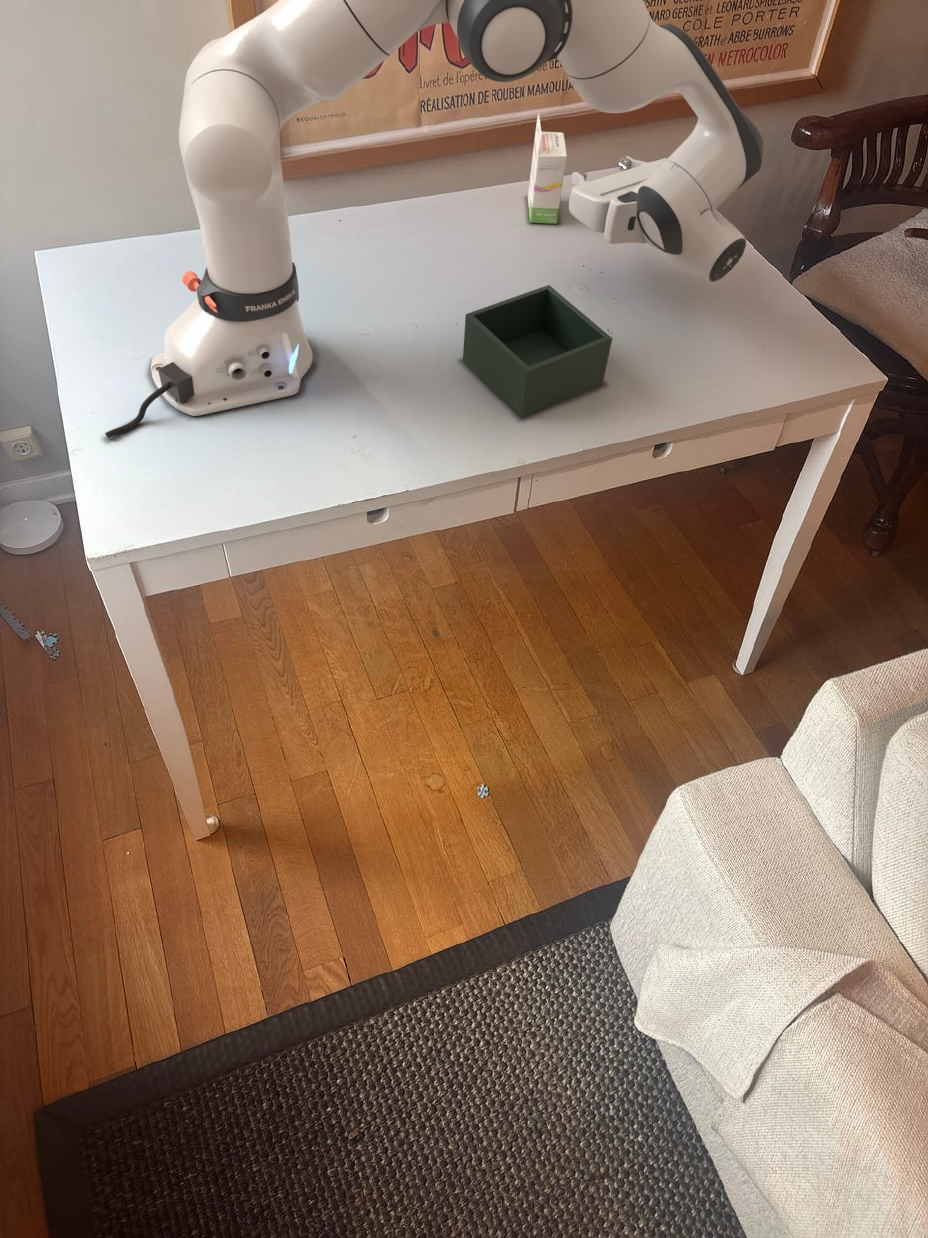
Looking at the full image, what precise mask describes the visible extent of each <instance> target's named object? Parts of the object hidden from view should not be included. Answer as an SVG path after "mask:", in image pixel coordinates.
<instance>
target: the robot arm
mask: <svg viewBox="0 0 928 1238" xmlns="http://www.w3.org/2000/svg"><path fill="white" fill-rule="evenodd" d="M439 24H449V25H450V27H451V29H452V31H453V34H454V35H455V37H456V39H457V42H458V45H459V47H460V50H461V52H462V54H463V56H464V57H465V59H466V60H467V61H468V63H469V64H470V65H471V66H472V67H473V68H474V69H475V70H476V71H477V73H479V74H481V76H483V77H485V78H486V79H489V80H490V81H494V82H498V83H509V82H515V81H518V80H520V79H524V78H525V77H527V76H529V75H532V74H533V73H534V72H536V71H538V70H539V69H541V67H543V66H544V65H545V64H546V63H548V62H551V61H553V60H555V59H556V58H557V60H558V62H559V64H560V66H561V68H562V69H563V71H564V73H565V75H566V77H567V79H568V81H569V82H570V85H571V86H572V88H573V89H574V91H575V92H576V93H577V95H578V96H579V98H580V99H581V100H582V101H583V102H584V103H585V104H586V105H587V106H588V107H590V108H592V109H594V110H596V111H598V112H602V113H607V114H624V113H629V112H632V111H636V110H639V109H643V108H644V107H646V106H647V105H649V104H651V103H653V102H654V101H656V100H658V99H660V98H662V97H664V96H665V95H668V94H671V93H672V92H675V91H679V94H681V96H682V97H683V98H684V100H685V101H686V102H687V104H688V105H689V107H690V109H691V110H692V111H693V113H694V114H695V115H696V117H697V122H696V124H695V126H694V129H693V130H692V132H691V133H690V134H689V136H688V137H687V138H686V139H685V140H684V141H683V142H682V143H681V144H680V145H679V146H678V147H677V148H676V149H675V150H674V151H673V153H671V154H670V156H668V157H664V158H661V159H658V160H654V161H651V162H647V161H642V160H639V159H634V158H632V157H630V156H629V155H626V156H623V157H620V158H619V159H618V169H619V170H620V171H619V172H616V173H612V174H610V175H606V176H602V177H600V178H596V179H594V180H591V181H590V180H587V177H588V174H587V173H586V172H584V171H583V170H582V169H581V170H577V171H574V172H572V174H571V184H572V185H573V187H572V188H571V190H570V194H569V200H568V211H569V213H570V215H572V217H574V218H575V219H577V220H578V221H579V222H580V223H582V224H583V225H584V226H586V227H587V228H589V229H590V230H592V231H594V232H597V233H601V234H603V239H604V240H605V242H606V243H608V244H611V245H618V244H619V245H620V244H630V243H631V244H632V243H633V244H642V245H643V244H648V245H649V246H651V247H653V248H655V249H657V250H660V251H661V252H663V253H664V254H665V255H666V257H667V258H668V259H669V260H670V261H671V262H673V263H674V264H675V265H677V266H678V267H679V268H681V269H682V270H684V271H686V272H687V273H689V274H691V275H692V276H694V277H696V278H699V279H701V280H703V281H705V282H708V283H709V282H710V283H714V282H717V281H719V280H721V279H723V278H724V277H725V276H726V275H727V274H728V273H730V272H731V271H732V270H733V268H734V267H736V265H737V264H738V263H739V261H740V260H741V258H742V257H743V255H744V253H745V250H746V246H747V239H746V237H745V236H744V234H742V232H741V231H740V230H739V229H738V228H737V227H736V226H735V225H734V224H733V223H731V222H730V221H729V220H728V219H727V218H726V217H724V215H722V214H721V213H719V212H718V211H717V209H719V207H721V206H722V205H723V204H724V203H725V202H726V200H727V199H729V197H730V196H731V195H733V194H734V193H735V192H736V191H737V189H740V188H741V187H742V186H744V185H745V184H746V183H747V182H748V181H749V180H750V179H752V178H753V177H754V176H755V175H756V174H758V172H759V171H760V170H761V168H762V163H763V157H764V146H765V145H764V138H763V135H762V134H761V132H760V131H759V129H758V128H757V127H756V125H755V124H754V123H753V121H752V120H751V119H750V118H749V117H748V115H747V114H746V113H745V112H744V111H743V110H742V109H741V107H740V106H739V104H738V103H737V101H736V100H735V99H734V97H733V95H732V94H731V93H730V91H729V89H728V88H727V86H726V85H725V84H724V82H723V80H722V78H721V77H720V76H719V74H718V72H717V71H716V69H715V67H713V65H712V63H711V62H710V60H709V59H708V58H707V56H706V55H705V53H704V52H703V51H702V49H701V48H700V47H699V45H698V44H697V43H696V41H695V40H694V39H693V38H692V37H691V36H690V35H689V34H688V33H686V32H685V30H683V29H681V28H680V27H678V26H677V25H675V24H673V23H665V24H660V25H658V24H657V23H656V22H654V20H653V18H652V17H651V15H650V13H649V10H648V8H647V5H646V4H645V2H644V0H278V1H276V2H275V3H274V4H272V5H271V6H269V7H268V8H267V9H266V10H264V11H262V12H261V13H260V14H258V15H257V16H255V17H254V18H252V19H250V20H249V21H247V22H245V23H243V24H242V25H240V26H239V27H237V28H235V29H234V30H232V31H231V32H230V33H227V34H226V35H225V36H223V37H218V38H215V39H213V40H210V41H209V42H208V43H206V44H205V45H204V46H203V47H202V48H201V49H200V50H199V52H198V53H197V54H196V56H195V57H194V59H193V60H192V62H191V63H190V66H189V67H188V69H187V71H186V73H185V74H186V75H185V79H184V87H183V96H182V104H181V109H180V117H179V118H180V119H179V120H180V121H179V128H178V146H179V151H180V155H181V160H182V165H183V169H184V173H185V178H186V181H187V184H188V189H189V191H190V195H191V198H192V202H193V205H194V208H195V211H196V214H197V215H196V216H197V219H198V223H199V230H200V235H201V241H202V246H203V252H204V258H205V259H204V260H205V264H206V268H205V270H204V274H203V277H202V279H200V278H199V277H198V275H197V273H196V272H194V271H192V270H189V271H186V272H185V273H183V276H182V277H181V278H182V280H181V281H182V283H183V284H184V286H185V287H187V289H188V290H189V291H190V292H195V293H196V296H197V298H196V299H195V300H194V301H193V302H192V303H191V304H190V305H189V306H188V307H187V308H186V309H185V310H184V311H183V312H182V313H181V314H180V315H179V316H178V317H177V318H176V319H175V320H174V321H173V323H171V324H170V325H169V326H168V327H167V329H166V331H165V334H164V343H163V345H164V346H163V347H164V349H163V351H162V352H160V353H158V354H155V356H153V357H152V360H151V364H150V370H151V377H152V380H153V383H154V385H155V387H156V388H157V389H156V390H155V391H153V392H152V393H150V395H149V396H147V397H146V399H144V400H143V402H142V403H141V405H140V407H139V410H138V414H137V415H136V417H135V418H133V420H130V421H129V422H128V423H126V424H124V425H121V426H119V427H115V428H113V429H111V430H110V429H109V430H108V431H107V432H105V436H106V438H107V439H111V438H112V437H115V436H118V435H121V434H123V433H126V432H128V431H130V430H132V429H134V428H135V427H136V426H138V424H140V423H141V422H142V421H143V420H144V418H145V416H146V412H147V409H148V408H149V406H150V405H151V404H152V403H153V402H154V401H155V400H156V399H158V398H159V397H161V396H162V397H163V399H165V401H167V402H168V403H169V404H170V406H171V407H174V408H175V409H176V410H178V411H180V412H181V413H184V414H186V415H189V416H192V417H198V416H202V415H208V414H213V413H218V412H222V411H227V410H231V409H236V408H240V407H246V406H251V405H254V404H260V403H264V402H268V401H273V400H277V399H282V398H286V397H291V396H294V395H297V393H299V390H300V388H301V381H302V379H303V377H305V375H306V374H307V372H308V371H309V370H310V368H311V366H312V363H313V360H314V354H313V349H312V347H311V345H310V343H309V340H308V338H307V335H306V333H305V329H304V326H303V323H302V318H301V313H300V309H299V303H298V302H299V301H300V293H299V292H300V291H299V290H300V289H299V287H300V286H299V279H298V272H297V268H296V265H295V262H293V256H292V255H293V254H292V244H291V234H290V233H291V232H290V224H289V213H288V207H287V200H286V192H285V191H286V190H285V183H284V176H283V167H282V157H281V155H282V154H281V142H280V141H281V140H280V132H281V130H282V128H283V126H284V125H285V124H286V123H287V122H288V121H289V120H290V119H291V118H292V117H294V116H295V115H297V114H298V113H300V112H303V111H304V110H307V109H308V108H310V107H312V106H315V105H317V104H319V103H322V102H333V101H336V100H338V99H340V98H341V97H343V96H344V95H346V93H347V92H349V91H350V90H352V89H353V88H354V87H355V86H356V85H357V84H358V83H360V82H361V81H362V80H363V79H364V78H366V76H367V75H370V73H371V72H373V71H374V70H375V69H376V68H377V67H379V65H380V64H382V63H383V62H384V61H386V60H387V59H389V57H390V56H391V55H392V54H393V53H395V52H396V51H398V49H400V47H401V46H403V45H404V44H405V43H406V42H407V41H408V40H409V39H410V38H411V37H412V36H413V35H414V34H417V33H418V32H420V31H422V30H424V29H426V28H429V27H431V26H435V25H439Z"/></svg>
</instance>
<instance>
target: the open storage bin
mask: <svg viewBox="0 0 928 1238" xmlns="http://www.w3.org/2000/svg"><path fill="white" fill-rule="evenodd" d="M464 318H465V319H464V335H463V351H462V362H463V363H464V364H465V365H466V366H467V368H469V369H470V370H471V371H472V372H473V373H474V374H475V375H476V376H477V377H478V378H479V379H480V381H482V382H483V383H484V384H485V385H486V386H487V387H488V388H489V389H490V390H492V392H493V393H494V394H495V395H497V397H498V398H500V399H501V400H502V402H504V403H505V404H506V405H507V406H508V408H510V409H511V410H512V411H513V412H514V413H515V414H516V415H517V416H518V417H519V418H520V419H524V418H526V417H528V416H531V415H534V414H536V413H538V412H541V411H543V410H546V409H548V408H551V407H552V406H555V405H557V404H559V403H562V402H565V401H567V400H569V399H572V398H574V397H577V396H579V395H582V394H584V393H586V392H590V391H592V390H593V389H597V388H599V387H601V386H603V385H604V379H605V377H606V376H605V375H606V372H607V371H606V370H607V366H608V362H609V356H610V352H611V348H612V342H613V338H612V336H610V335H609V334H608V333H607V332H605V330H603V329H602V328H601V327H599V326H598V324H597V323H595V322H594V321H593V320H591V319H590V317H588V316H587V315H586V314H584V313H583V312H582V311H580V309H578V308H577V307H576V306H575V305H574V304H573V303H571V302H570V301H569V300H568V299H566V297H564V296H563V295H561V293H559V291H558V290H556V289H555V288H553V287H552V286H551V285H550V284H548V285H545V286H541V287H538V288H535V289H533V290H529V291H527V292H524V293H522V294H519V295H516V296H513V297H510V298H507V299H505V300H502V301H498V302H496V303H493V304H490V305H487V306H485V307H482V308H479V309H477V310H473V311H470V312H467V313H466V314H465V317H464Z"/></svg>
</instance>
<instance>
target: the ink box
mask: <svg viewBox="0 0 928 1238" xmlns="http://www.w3.org/2000/svg"><path fill="white" fill-rule="evenodd" d="M535 126H536V127H535V130H534V131H535V132H534V142H533V151H532V158H531V167H530V173H529V175H530V176H529V184H528V193H527V204H528V214H529V216H528V217H529V223H530V224H532V223H533V224H556V225H557V224H558V220H559V213H560V205H561V197H562V192H563V191H562V190H563V183H564V177H565V172H566V171H565V170H566V164H567V157H568V155H567V146H566V139H565V134H564V132H559V131H558V132H557V131H542V126H541V117H540V113H538V114H537V119H536V125H535Z"/></svg>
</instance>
